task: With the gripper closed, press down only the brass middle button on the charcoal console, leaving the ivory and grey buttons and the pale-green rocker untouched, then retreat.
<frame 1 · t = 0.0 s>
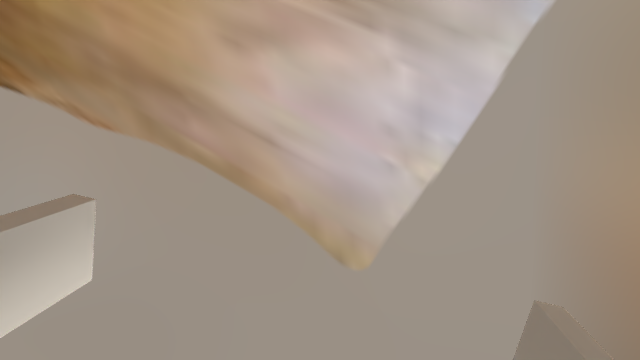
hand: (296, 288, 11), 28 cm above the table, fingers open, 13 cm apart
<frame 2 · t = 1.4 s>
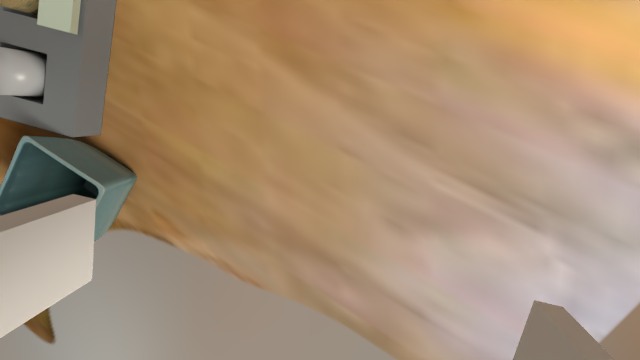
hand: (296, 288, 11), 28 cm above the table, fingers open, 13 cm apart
console: (62, 1, 38), on the table
grey button: (22, 73, 36), point 4 cm above the table, slide at 0.0 cm
flower pot: (113, 180, 42), on the table
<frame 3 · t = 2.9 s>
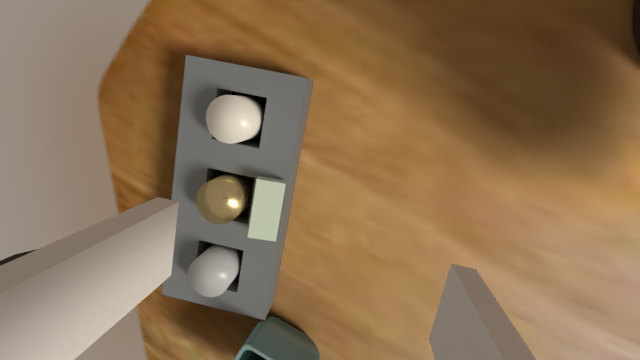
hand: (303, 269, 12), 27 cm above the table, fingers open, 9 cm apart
console: (241, 187, 41), on the table
grey button: (218, 266, 39), point 4 cm above the table, slide at 0.0 cm
flower pot: (283, 339, 44), on the table
ivory button: (238, 118, 35), point 4 cm above the table, slide at 0.0 cm
brass button: (227, 196, 37), point 4 cm above the table, slide at 0.0 cm
green rocker: (267, 207, 36), point 5 cm above the table, hinge at -12.0°, touching console
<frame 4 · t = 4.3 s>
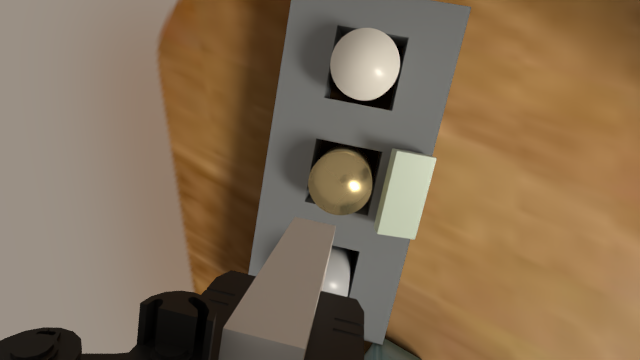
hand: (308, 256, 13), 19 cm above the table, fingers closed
console: (345, 168, 31), on the table
grey button: (322, 272, 29), point 4 cm above the table, slide at 0.0 cm
ivory button: (365, 68, 25), point 4 cm above the table, slide at 0.0 cm
brass button: (342, 177, 27), point 4 cm above the table, slide at 0.0 cm
green rocker: (402, 193, 26), point 5 cm above the table, hinge at -12.0°, touching console
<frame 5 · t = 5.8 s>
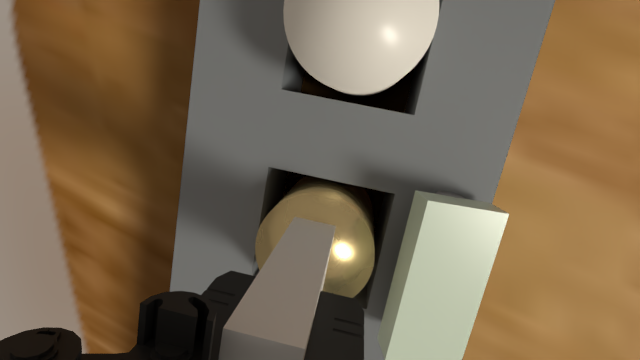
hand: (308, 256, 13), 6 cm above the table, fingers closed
console: (329, 211, 18), on the table
ivory button: (360, 30, 13), point 4 cm above the table, slide at 0.0 cm
brass button: (322, 230, 15), point 3 cm above the table, slide at 1.1 cm, touching gripper
green rocker: (433, 276, 13), point 5 cm above the table, hinge at -12.0°, touching console
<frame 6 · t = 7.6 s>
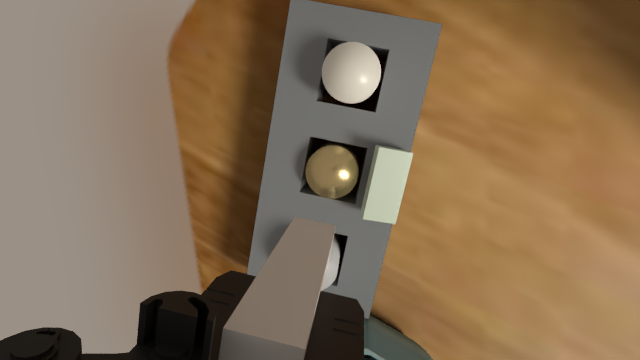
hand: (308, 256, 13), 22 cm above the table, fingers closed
console: (336, 163, 35), on the table
grey button: (315, 255, 33), point 4 cm above the table, slide at 0.0 cm
flower pot: (376, 341, 38), on the table
ivory button: (352, 75, 29), point 4 cm above the table, slide at 0.0 cm
brass button: (334, 167, 32), point 3 cm above the table, slide at 1.4 cm
green rocker: (384, 183, 30), point 5 cm above the table, hinge at -12.0°, touching console
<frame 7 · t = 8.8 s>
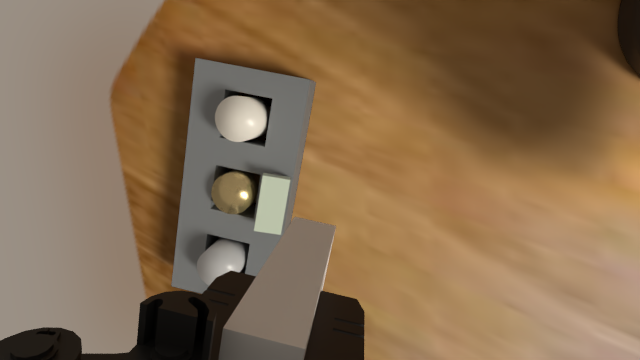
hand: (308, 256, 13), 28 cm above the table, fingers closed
console: (246, 184, 43), on the table
grey button: (225, 259, 41), point 4 cm above the table, slide at 0.0 cm
ivory button: (245, 118, 37), point 4 cm above the table, slide at 0.0 cm
brass button: (239, 188, 40), point 3 cm above the table, slide at 1.4 cm
green rocker: (272, 203, 37), point 5 cm above the table, hinge at -12.0°, touching console
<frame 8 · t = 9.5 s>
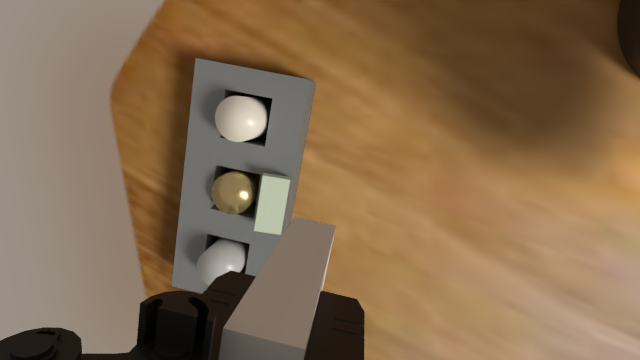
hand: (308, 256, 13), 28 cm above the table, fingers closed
console: (246, 184, 43), on the table
grey button: (225, 259, 41), point 4 cm above the table, slide at 0.0 cm
ivory button: (245, 118, 37), point 4 cm above the table, slide at 0.0 cm
brass button: (239, 188, 40), point 3 cm above the table, slide at 1.4 cm
green rocker: (272, 203, 37), point 5 cm above the table, hinge at -12.0°, touching console
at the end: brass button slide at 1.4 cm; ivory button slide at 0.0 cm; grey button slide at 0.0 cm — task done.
